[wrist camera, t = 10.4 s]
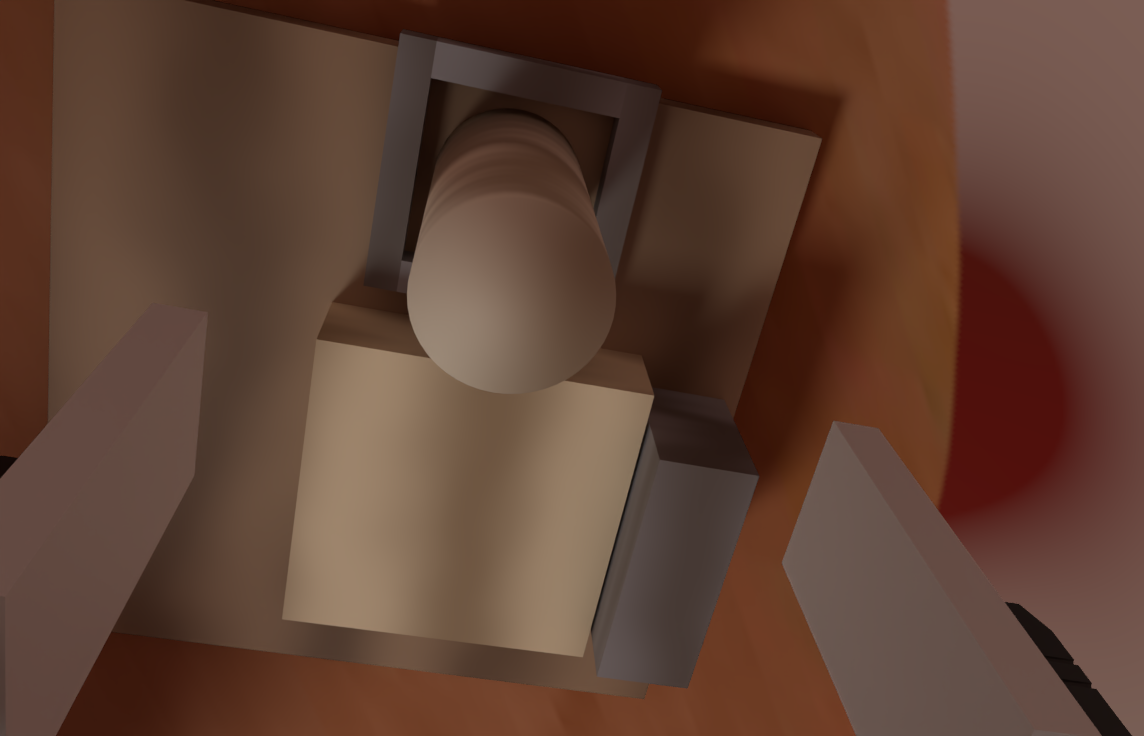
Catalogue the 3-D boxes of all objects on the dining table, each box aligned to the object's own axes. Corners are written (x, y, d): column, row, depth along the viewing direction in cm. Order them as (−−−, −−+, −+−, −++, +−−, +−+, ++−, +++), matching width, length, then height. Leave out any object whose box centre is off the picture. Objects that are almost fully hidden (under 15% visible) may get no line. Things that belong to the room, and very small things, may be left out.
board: (58, 602, 37) (-21, 727, 31) (71, -50, 28) (-35, -38, 23) (640, 677, 40) (663, 803, 35) (816, 114, 31) (885, 160, 26)
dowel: (423, 238, 31) (392, 375, 22) (447, 93, 29) (425, 178, 20) (563, 264, 32) (590, 408, 23) (595, 125, 30) (638, 220, 21)
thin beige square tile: (298, 564, 36) (281, 619, 33) (332, 301, 32) (316, 339, 29) (576, 601, 37) (582, 657, 34) (641, 355, 33) (654, 395, 30)
